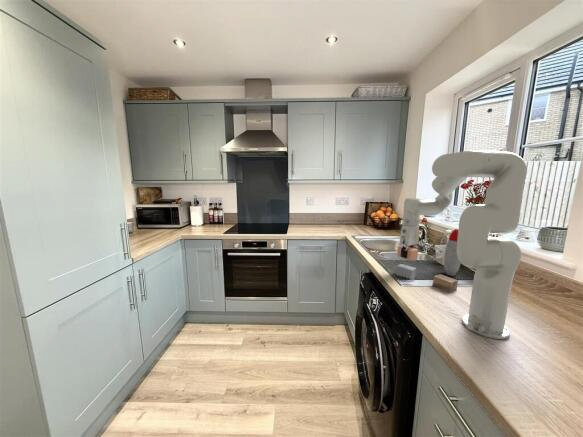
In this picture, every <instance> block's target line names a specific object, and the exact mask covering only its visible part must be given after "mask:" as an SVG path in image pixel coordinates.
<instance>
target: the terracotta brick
mask: <svg viewBox="0 0 583 437" xmlns="http://www.w3.org/2000/svg"><path fill="white" fill-rule="evenodd" d="M404 246H405V245H404ZM405 247H406V246H405ZM407 251H408V253H407V258H403V257H401V248H400V246H399V245H398V246H397V251H396V252H397V255H396V256H397V257H399V258H402V259H404V260H405V259H406V260H408V261H414V260H417V259H418V256H419V255H418V254H419V249H417V248H416V247H415V248H411V247H409V246H408V248H407Z"/></svg>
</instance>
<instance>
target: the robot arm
mask: <svg viewBox="0 0 583 437" xmlns="http://www.w3.org/2000/svg"><path fill="white" fill-rule="evenodd" d="M527 167H528V165H527V164H526V160H524V158H523V157H522V156H520V155H518V154H516V153H514V152H510V151H504V150H503V151H501V150H500V151H499V150H464V151H459V152H458V151H457V152H453V153H452V152H451V153H445V154H442V155H440V156H438V157H437V158H436V159H435V160H434V161H433V163H432V166H431V172H432V174H433V175H434V176H435V178H434V179H433V180H432V182H431V187H432V189H433V190H434V192H435V193H437V194H438V195H437V196H436V197H435V198H423V199H422V198H419V197H418V198H416V197H407V198H405V199H404V202H403V213H402V226H401V231H400V235H399V244H398V247H399V246H400V248H401V257H400V258H402V257H403V258H402V259H405V258H407V253H408V251H407V248H408V247H411V248H415V249H416V245H417V244H419V240H420V238H419V237H420V216H435V215H436V216H437V215H439V214H441V213H442V212H444V211H445V210H446V209H447V208H448V207H449V206H450V205H451V203H452V199H453V192H454V191H455V190H456V189H457V188H458V187H459V186H460V185H461V184H462V183H463V182H464V181H465V180H467V178H492V179H493V180H492V181H491V182H490V183H489V185H488V186H487V189H486V192H485V200H484V204H483V203H482V204H481V203H479V204H472V205H469V206H467V207H466V208H464V210H463V211H462V213H461V215H460V217H459V221H458V228H457V229H458V240H457V256H458V259H459V260H460V262H461V263H460V264H462V265H463V266H465V267H467V268H469V269H476V271H475V272H474V276H473V282H472V286H471V287H472V288H471V295H470V302H469V309H468V313H467V314H465V315H463V316H462V319H461V322H462V325H464V326H465V327H466V328H467V330H469V331H472V332H474V333H475V334H477V335H480V336H483V337H484V338H485V337H486V338H490V339H493V340H505V339H509V337H510V334H511V331H510V330H509V328H508V327H507V326H506V325H505V324H506V320H507V319H506V318H507V313H508V308H509V301H510V296H511V290H512V287H513V286H512V285H513V280H514V276H515V273H516V271H517V268H518V267H519V265H520V262H521V258H522V252H521V251H522V250H521V249H520V246H519V245H518V244H517V243H516V242H515V241H514V240H511V239H509V238H505V237H499V236H498V237H496V236H495V237H489V235H502V234H503V235H505V234H510V233H513V232H515V231H516V229H517V228H518V226H519V223H520V216H521V209H522V208H521V207H522V200H523V190H524V185H525V182H526V178H527V172H528V168H527ZM405 246H406V247H405Z"/></svg>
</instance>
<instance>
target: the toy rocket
mask: <svg viewBox="0 0 583 437" xmlns="http://www.w3.org/2000/svg"><path fill="white" fill-rule="evenodd" d="M458 229H459V228H455V229H453V230H452V232H451V233H450V235H449V237H448V240H447V243H446V246H445V248H444V250H445V251H444V255H443V256H444V257H443V267H444V271H445V274H446V275H447V276H452V277H453V276H454V277H455V276H456V273H458V272H459V270H460V266H461V264H462V263H461V262H460V260H459V259H458V256H457V240H458Z"/></svg>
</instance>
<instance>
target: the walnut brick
mask: <svg viewBox="0 0 583 437" xmlns="http://www.w3.org/2000/svg"><path fill="white" fill-rule="evenodd" d="M458 282H459V281H458V280H457V279H456V278H455V279H454V278H451V277H448V276H446V275H444V274H436V275H433V279H432V286H433V287H435V288H437V289H440V290H442V291H444V292H448V293H453V292H457V289H458Z"/></svg>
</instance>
